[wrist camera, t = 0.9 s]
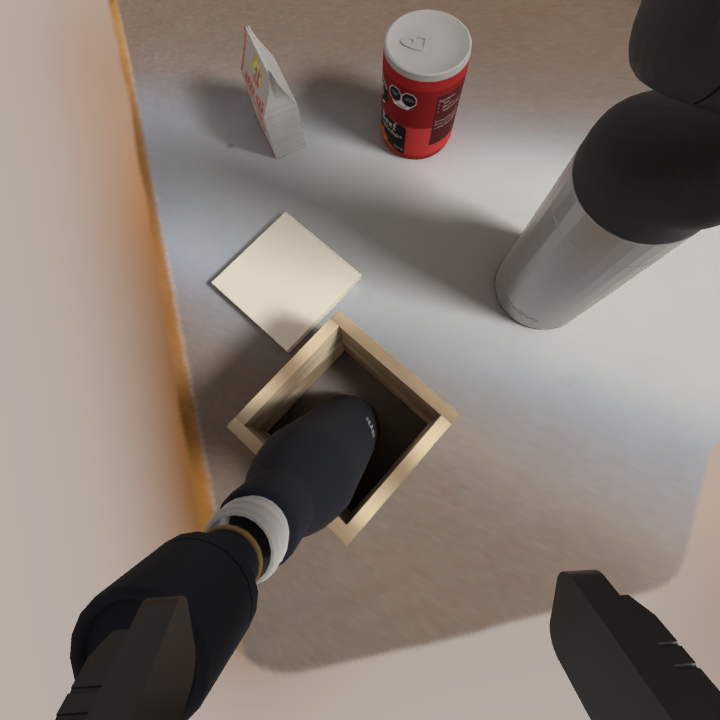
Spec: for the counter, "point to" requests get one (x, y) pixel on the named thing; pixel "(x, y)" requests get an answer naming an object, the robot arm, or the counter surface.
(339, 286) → the cream tile
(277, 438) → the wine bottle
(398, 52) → the canned food
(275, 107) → the white paper bag
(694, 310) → the counter surface
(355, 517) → the pine crate
